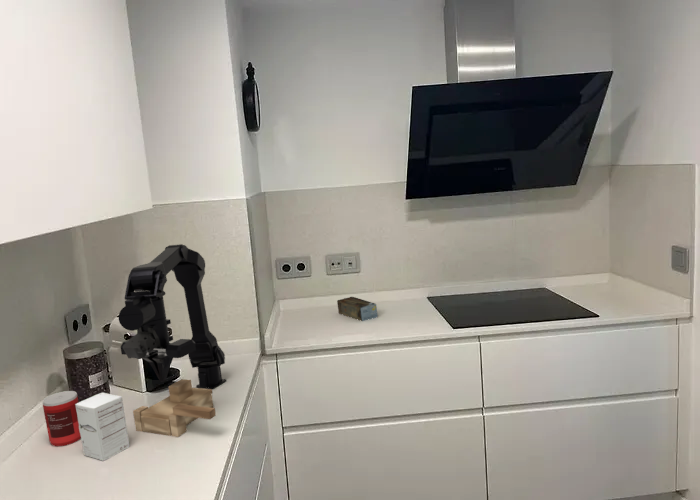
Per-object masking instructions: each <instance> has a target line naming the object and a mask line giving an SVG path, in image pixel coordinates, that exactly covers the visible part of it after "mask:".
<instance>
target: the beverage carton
mask: <svg viewBox="0 0 700 500" xmlns="http://www.w3.org/2000/svg"><path fill="white" fill-rule="evenodd" d="M336 303H337V304H336V305H337V309H338V314H340V315H342V314H343V316H345V315H346V317H348V316H349V317H348V318H351V317H352V318H351V319H354V318H355V319H354V320H357V319H358V320H357V321H360V320H361V322H366V321H369V320H372V318H373V319H376V317H377V318H378V310H377V304H376V303H375V302H371V301H367V300H365V299H362V298H359V297H356V296H355V297H354V296H349V297H344V298H342V299H338V300H336ZM368 319H369V320H368Z"/></svg>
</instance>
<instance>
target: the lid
mask: <svg viewBox="0 0 700 500" xmlns="http://www.w3.org/2000/svg"><path fill="white" fill-rule="evenodd" d="M168 391H169V392H168V393H169V396H167V397H165V398H164V399H161V400H160V401H158V402H156V403H155V404H153V405H151V406H150V407H149V406H148V408H147V409H146V410H144V411H142V412H141V415H142V416H146V417H154V418H161V419H169V415H171V414H172V413H173V408H172V407H174V406H176V405H178V404H183V405H191V406H192V405H194V404H196V403H197V402H199V401H201V400H202V399H204V398H205V397H207V396H209V395H210V394H212V395H213V389H208V388H198V387H193V386H192V380H191V379H184V378H183V379H182V378H181V379H180V380H177V381H176V382H174V383H172V384H170V385H169V386H168Z"/></svg>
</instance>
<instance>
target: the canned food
mask: <svg viewBox="0 0 700 500" xmlns="http://www.w3.org/2000/svg"><path fill="white" fill-rule="evenodd" d="M79 402H80V401H79V397H78V393H77V392H76V391H75V390H65V391H60V392H55V393H53V394H50V395H48V396H46V397H45V398H44V399H42V408H43V415H44V419H45V424H46V429H47V435H48V441H49V443H50V445H51V446H53V447H65V446H69V445H71V444H74V443H76V442H78V441H79V440H81V435H80V429H79V423H78V417H77V411H76V405H75V404H77V403H79Z"/></svg>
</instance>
